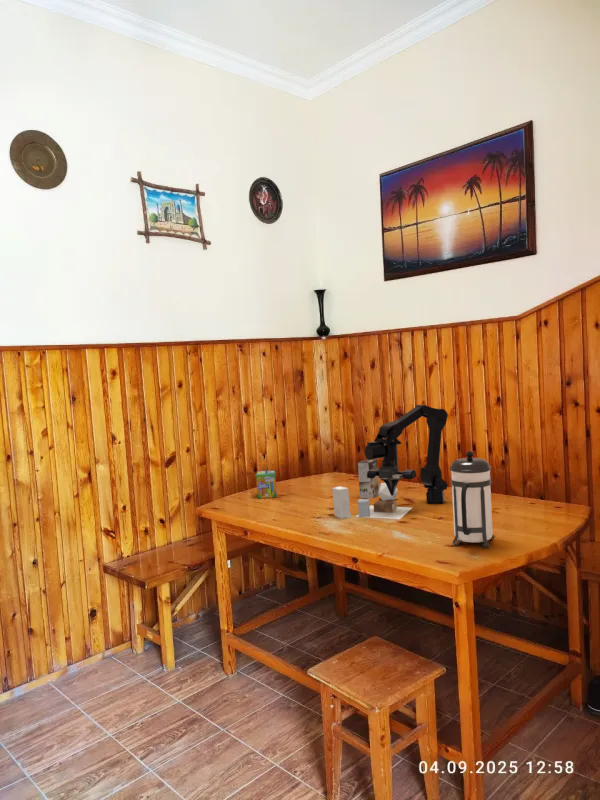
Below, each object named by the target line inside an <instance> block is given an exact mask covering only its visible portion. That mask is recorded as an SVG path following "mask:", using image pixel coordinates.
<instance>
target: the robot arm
mask: <svg viewBox="0 0 600 800" xmlns="http://www.w3.org/2000/svg"><path fill="white" fill-rule="evenodd" d="M422 417H423V418H426V425H427V427H428V429H429V431H428V444H427V455H426V464H425V465H424V467H420V475H419V477H420V482H421V483H422V484H423V486H424V487H423V488H424V489H426V490H427V492H425V493H426V494H425V495H426V498H425V499H426V504H429V505H444V503H445V502H446V500H445V490H447V488H448V483H447V482H446V481H445V480H444V479H443V475H442V474H443V473H442V470H441V468H440V466H439V465H440V453H441V442H442V441H441V440H442V431H443V429H444V428H445V426H446V424H447V420H448V412H447V411H446V409H443V408H434V407H431V406H428V405H426V404H416V405H415V407H413V408H412V409H410V410H409V411H408V412H406V413H405V414H403V415H402V416H400V417H399V418H397V419H396V420H394V421H390V422H387V423H384V424H382V425H381V426H380V427H379V430H378V433H377V435H376V437H375V439H374V440H373V441H367V442H366V443H367V444H366V446H365V447H364V450H363V451H364V452H363V453H364V456H365V458H366V459H367V460H372V459H376V460H379V459H382V461H381V466H380V468H378V469H371V470H369V471H368V472H367V478H375V477H376V476H378V477H379V478H380V481H383V483H386V485H387V487H388V489H389V492H390V494H391V496H393V495H394V492H395V489H396V488H397V486H398V483H399V481H400V480H402V479H404V480H413V479H415V478H416V477H417V472H416V470H415V469H405V470H403V471H400V468H399V457H398V445H402V442H401V441H400V440H399V439H398V438H399V436H401V435H402V434H403V431H404V430H405V429H406V428H407V427H409V426H410V425H412V424H413V423H415V422H416V421H418V420H419V419H420V418H422Z"/></svg>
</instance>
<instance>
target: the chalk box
mask: <svg viewBox="0 0 600 800" xmlns="http://www.w3.org/2000/svg"><path fill="white" fill-rule="evenodd" d="M268 466H269V465H268V464H266V467H265V470H260V471H259V470H257V471H256V475H255V476H256V478H255V480H256V492H257V493H256V494H257V495H256V496H257V499H272V498H277V497H278V496H277V494H278V493H277V492H278V491H277V479H276V470H268Z"/></svg>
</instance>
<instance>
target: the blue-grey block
mask: <svg viewBox="0 0 600 800" xmlns="http://www.w3.org/2000/svg"><path fill="white" fill-rule="evenodd" d="M357 504H358V506H357V507H358V514H359V517H358V518H368V517H369V516H370V506H371V505H370V498H359V499H358V501H357Z"/></svg>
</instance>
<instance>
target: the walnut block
mask: <svg viewBox="0 0 600 800" xmlns="http://www.w3.org/2000/svg"><path fill="white" fill-rule="evenodd" d="M373 506H374V512H386V513H394V512H395V511H396V510H397V507H398V503H397V501H382V500H381V501H380V500H378V501H376V502H374V503H373Z"/></svg>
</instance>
